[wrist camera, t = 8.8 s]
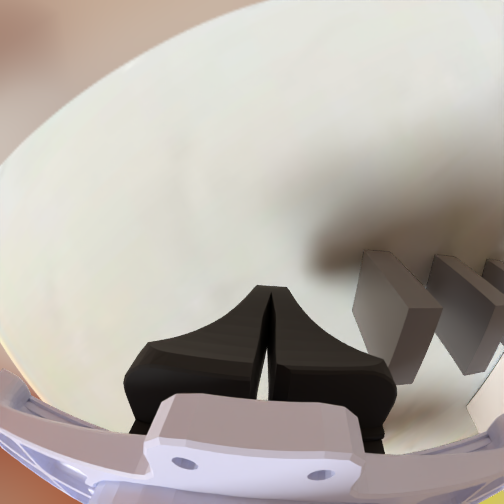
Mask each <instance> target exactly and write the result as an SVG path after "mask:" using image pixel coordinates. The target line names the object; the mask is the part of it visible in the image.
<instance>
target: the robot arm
mask: <svg viewBox="0 0 504 504" xmlns="http://www.w3.org/2000/svg"><path fill="white" fill-rule="evenodd" d="M266 350H267V355H268V383H269V393H268V401H267V400H256V399H257V392H258V386H259V382H260V377H261V373H262V368H263V364H264V359H265V355H266ZM123 384H124V389H125V393H126V396H127V399H128V401H129V404H130V406H131V409H132V412H133V414H134V417H135V419H136V420H135V422H134V424H133V426H132V428H131V430H130V432H129V434H128V433H119V432H112V431H109V430H106V429H104V428H101V427H98V426H96V425H93V424H91V423H88V422H86V421H83V420H81V419H79V418H76V417H74V416H72V415H69V414H67V413H65V412H63V411H61V410H59V409H57V408H55V407H52V406H50V405H48V404H47V403H45V402H43V401H41V400H39V399H37V398H35V397H33V396H31V393H30V391H29V389H28V387H27V386H26V384H25V383H24V381H22V379H21V378H19V377H18V376H16V375H14V374H13V373H11V372H9V371H8V370H6V369H2V370H1V371H0V446H1V447H2V448H3V449H4V450H5V451H7V452H8V453H9V454H10V455H12V456H13V457H14V458H15V459H17V460H18V461H19V462H21V463H22V464H23V465H25V466H26V467H27V468H29V469H30V470H31V471H33V472H34V473H36V474H37V475H38V476H40V477H42V478H43V479H44V480H46V481H47V482H49V483H50V484H52V485H53V486H55V487H56V488H58V489H60V490H61V491H63V492H64V493H66V494H68V495H69V496H71V497H73V498H74V499H76V500H78V501H80V502H81V503H83V504H478V503H480V502H482V501H484V500H485V499H487V498H489V497H491V496H493V495H495V494H496V493H498V492H500V491H501V490H503V489H504V414H502V415H500V416H499V417H497V418H496V419H495V420H494V421H493V423H492V424H491V425H490V427H489V428H488V430H487V431H486V432H483V433H480V434H477V435H475V436H472V437H469V438H466V439H463V440H459V441H456V442H453V443H449V444H446V445H442V446H439V447H435V448H431V449H427V450H422V451H418V452H413V453H408V454H403V455H388V454H385V452H384V448H383V444H382V440H381V439H383V438H384V435H385V433H384V429H383V423H384V421H385V420H386V418H387V416H388V414H389V412H390V410H391V409H392V407H393V405H394V403H395V400H396V397H397V387H396V384H395V382H394V379H393V377H392V374H391V372H390V370H389V368H388V366H387V364H386V363H385V361H384V359H382V358H379V357H376V356H373V355H370V354H367V353H364V352H361V351H359V350H357V349H355V348H353V347H350V346H348V345H346V344H345V343H343V342H341V341H339V340H338V339H336V338H334V337H333V336H331V335H330V334H328V333H327V332H326V331H324V330H323V329H322V328H321V327H319V326H318V325H317V324H316V323H315V322H314V321H312V320H311V319H310V317H309V316H308V315H307V314H306V313H305V312H304V311H303V309H302V308H301V307H300V306H299V304H298V303H297V302H296V300H295V299H294V297H293V296H292V294H291V292H290V291H289V289H288V288H287V287H277V286H262V285H257V286H255V287H254V288H253V290H252V291H251V292H250V293H249V294H248V295H247V296H246V298H245V299H243V300H242V301H241V302H240V303H239V304H238V305H237V306H236V307H235V308H234V309H232V310H231V311H230V312H229V313H228V314H226V315H225V316H223V317H222V318H220V319H218V320H217V321H215V322H213V323H211V324H209V325H207V326H205V327H203V328H200V329H198V330H196V331H193V332H190V333H188V334H185V335H181V336H178V337H174V338H170V339H164V340H159V341H153V342H148V343H147V344H146V346H145V347H144V348H143V349H142V350H141V352H140V353H139V354H138V356H137V357H136V359H135V360H134V362H133V364H132V365H131V367H130V368H129V370H128V371H127V373H126V375H125V377H124V382H123Z"/></svg>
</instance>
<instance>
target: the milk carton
mask: <svg viewBox="0 0 504 504" xmlns="http://www.w3.org/2000/svg"><path fill="white" fill-rule="evenodd" d="M466 408H467V410H468V412H469V414H470V416H471V418H472V420H473V422H474V424H475V426H476V428H477V430H478V432H479V434H480V433H483V432H486V431H487V430H488V428H489V427H490V425H491V424H492V423H493V421H494V420H495V419H496V418H497V417H499V416H500V415H502V414H504V354H503V355H502V357H501V359H500V360H499V362H498V363H497V365H496V366H495V368H494V369H493V371H492V372H491V374H490V375H489V377H488V378H487V380H486V381H485V383H484V384H483V385H482V387H481V388H480V389H479V391H478V392H477V393H476V395H475V396H474V397H473V399H472V400H471V401H470V403H469V404H468V405H467V407H466ZM503 491H504V489H503Z"/></svg>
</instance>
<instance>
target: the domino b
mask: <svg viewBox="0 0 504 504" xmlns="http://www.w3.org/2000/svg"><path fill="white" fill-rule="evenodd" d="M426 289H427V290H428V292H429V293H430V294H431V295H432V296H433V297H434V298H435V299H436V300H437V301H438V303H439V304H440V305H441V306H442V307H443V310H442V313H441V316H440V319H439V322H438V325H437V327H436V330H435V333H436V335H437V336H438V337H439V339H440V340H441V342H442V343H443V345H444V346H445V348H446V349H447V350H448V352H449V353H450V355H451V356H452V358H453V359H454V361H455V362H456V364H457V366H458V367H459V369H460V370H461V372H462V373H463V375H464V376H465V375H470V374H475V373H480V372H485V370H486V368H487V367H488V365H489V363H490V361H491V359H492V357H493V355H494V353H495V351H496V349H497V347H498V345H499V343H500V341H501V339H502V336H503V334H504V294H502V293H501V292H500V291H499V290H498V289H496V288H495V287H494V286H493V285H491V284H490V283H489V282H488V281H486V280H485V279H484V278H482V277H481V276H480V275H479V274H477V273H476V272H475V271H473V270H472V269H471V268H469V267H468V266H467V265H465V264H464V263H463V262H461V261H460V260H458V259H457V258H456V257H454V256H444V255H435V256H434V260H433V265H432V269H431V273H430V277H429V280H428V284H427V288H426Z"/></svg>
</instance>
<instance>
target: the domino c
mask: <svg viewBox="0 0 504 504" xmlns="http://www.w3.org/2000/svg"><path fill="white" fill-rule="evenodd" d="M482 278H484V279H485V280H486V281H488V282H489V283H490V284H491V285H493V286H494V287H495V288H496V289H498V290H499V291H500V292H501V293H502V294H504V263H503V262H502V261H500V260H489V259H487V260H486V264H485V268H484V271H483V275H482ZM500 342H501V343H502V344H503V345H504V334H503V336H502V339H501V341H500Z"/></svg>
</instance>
